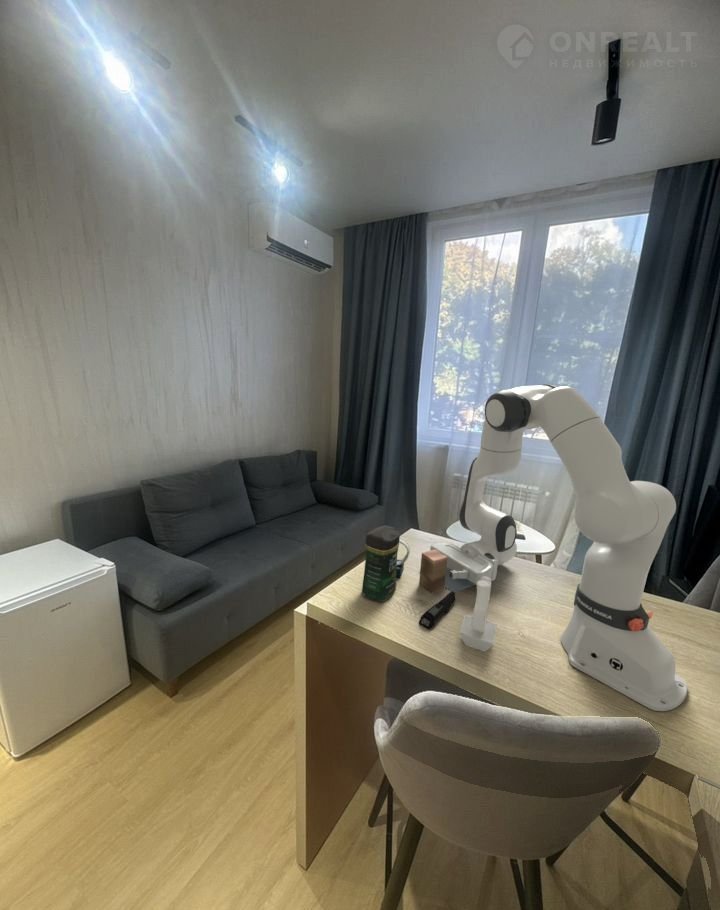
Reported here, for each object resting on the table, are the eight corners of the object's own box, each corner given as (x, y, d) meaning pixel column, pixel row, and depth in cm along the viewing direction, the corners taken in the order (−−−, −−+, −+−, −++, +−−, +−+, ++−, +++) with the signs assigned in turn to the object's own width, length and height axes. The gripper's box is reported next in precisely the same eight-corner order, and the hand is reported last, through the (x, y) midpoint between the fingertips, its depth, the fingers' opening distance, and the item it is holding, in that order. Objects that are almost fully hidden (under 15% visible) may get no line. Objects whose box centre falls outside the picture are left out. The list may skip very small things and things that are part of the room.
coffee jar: (383, 606, 96) (387, 540, 92) (357, 595, 100) (360, 531, 96) (400, 589, 104) (405, 527, 100) (376, 580, 108) (379, 520, 104)
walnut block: (444, 589, 105) (447, 556, 103) (430, 594, 103) (433, 560, 101) (432, 580, 110) (435, 549, 107) (419, 584, 107) (421, 552, 105)
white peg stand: (456, 649, 82) (463, 588, 79) (464, 625, 91) (471, 569, 87) (490, 661, 79) (499, 598, 76) (495, 635, 88) (503, 577, 84)
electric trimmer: (458, 604, 100) (460, 593, 99) (430, 631, 88) (432, 620, 87) (446, 598, 102) (447, 588, 101) (417, 624, 90) (418, 613, 90)
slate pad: (487, 580, 111) (487, 579, 111) (453, 592, 104) (453, 591, 104) (457, 562, 121) (457, 561, 121) (424, 572, 114) (424, 571, 114)
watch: (383, 566, 117) (385, 533, 114) (409, 571, 114) (411, 537, 112) (379, 574, 111) (381, 540, 109) (405, 580, 109) (408, 545, 107)
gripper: (450, 534, 121) (417, 542, 114) (502, 562, 104) (467, 574, 97) (448, 552, 123) (415, 561, 116) (499, 582, 106) (464, 595, 99)
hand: (439, 567), depth 106 cm, fingers open, 8 cm apart
